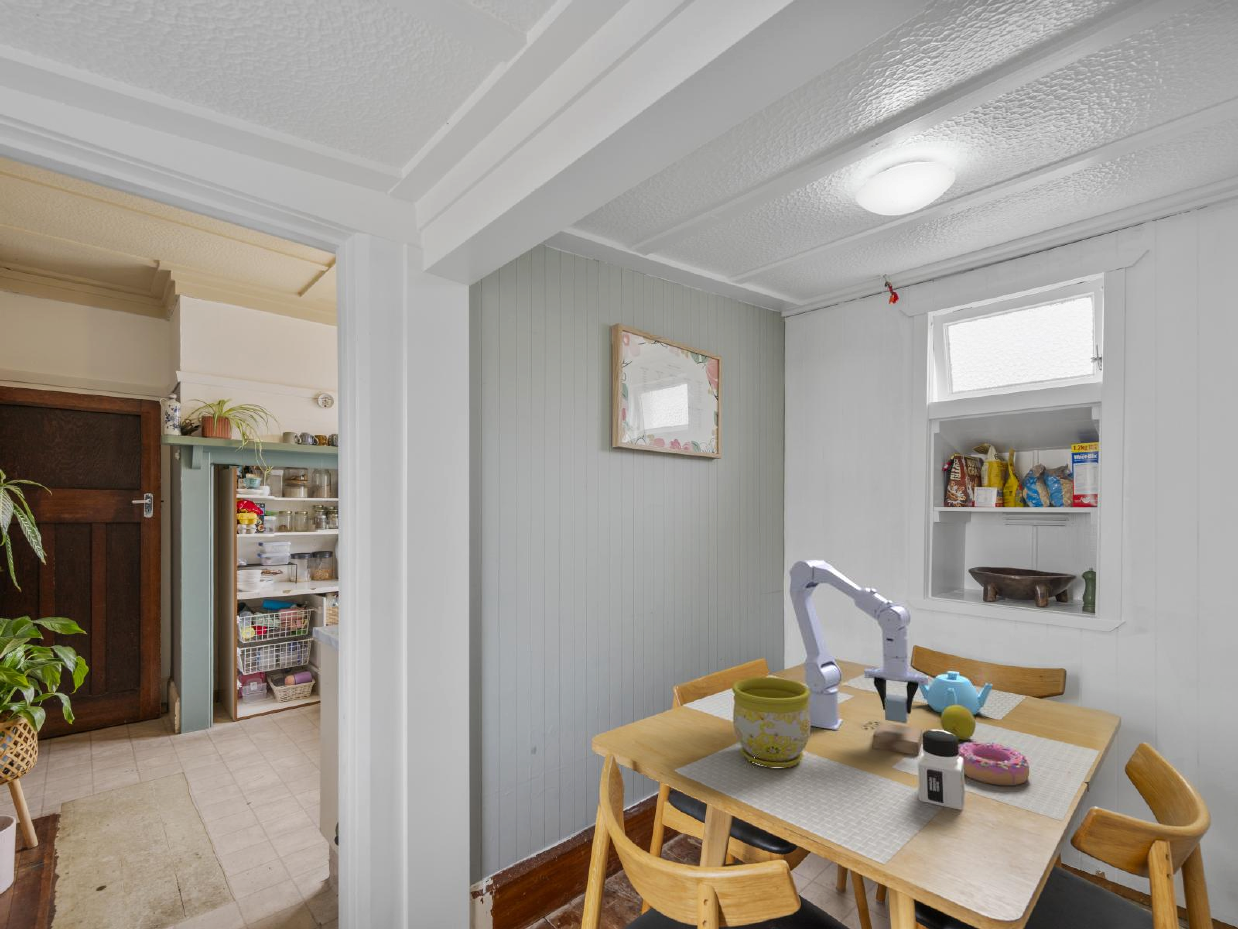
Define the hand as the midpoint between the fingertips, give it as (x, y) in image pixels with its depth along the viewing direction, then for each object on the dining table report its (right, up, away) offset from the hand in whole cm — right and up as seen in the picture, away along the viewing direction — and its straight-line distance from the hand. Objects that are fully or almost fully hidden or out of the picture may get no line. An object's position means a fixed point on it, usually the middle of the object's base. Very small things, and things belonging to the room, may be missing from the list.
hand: (897, 710), depth 156 cm
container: (-3, -7, -28) cm, 29 cm away
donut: (+13, -8, -17) cm, 23 cm away
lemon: (+17, -9, +3) cm, 20 cm away
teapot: (+27, -10, +24) cm, 38 cm away
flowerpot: (-33, -8, -8) cm, 35 cm away
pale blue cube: (0, -2, -1) cm, 2 cm away
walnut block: (0, -8, 0) cm, 8 cm away
